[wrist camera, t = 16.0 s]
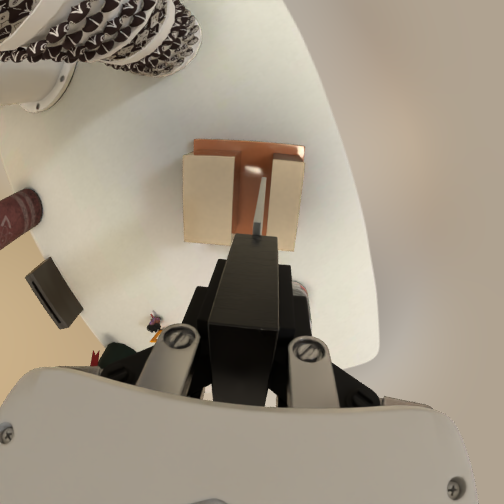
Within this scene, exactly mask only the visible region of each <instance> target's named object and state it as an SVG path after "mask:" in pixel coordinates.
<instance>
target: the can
mask: <svg viewBox="0 0 504 504" xmlns="http://www.w3.org/2000/svg"><path fill="white" fill-rule="evenodd" d="M41 216H42V205H41V202H40V199H39V197H38V195H37V194H36V193H35V192H34V191H33V190H31V189H23V190H21V191H19V192H17V193H15V194H13V195H11V196H9V197H7V198H5V199H3V200H1V201H0V250H1V249H3V248H4V247H5V246H7V245H8V244H10V243H11V242H12V241H14V240H15V239H17V238H18V237H20V236H21V235H23V234H24V233H25V232H27V231H29V230H30V229H32V228H33V227H35V226H36V225H38V223H39V222H40V219H41Z"/></svg>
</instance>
